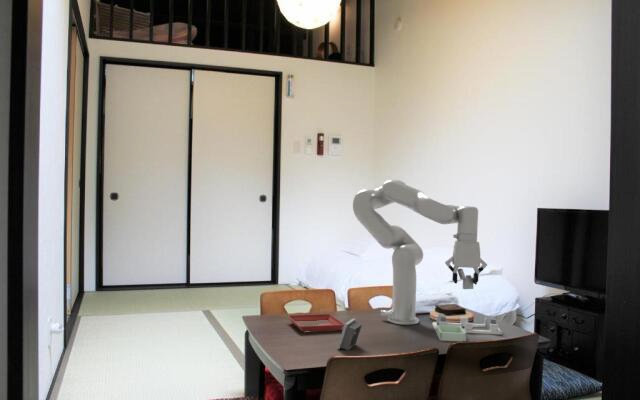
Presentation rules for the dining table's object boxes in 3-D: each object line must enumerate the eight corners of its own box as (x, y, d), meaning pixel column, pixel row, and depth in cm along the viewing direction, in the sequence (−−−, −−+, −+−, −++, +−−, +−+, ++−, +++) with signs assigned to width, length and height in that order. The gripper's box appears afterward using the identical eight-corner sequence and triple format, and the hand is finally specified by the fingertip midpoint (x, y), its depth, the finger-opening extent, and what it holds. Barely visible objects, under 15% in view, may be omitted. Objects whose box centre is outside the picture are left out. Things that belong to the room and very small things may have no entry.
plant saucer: (329, 321, 220) (329, 313, 220) (345, 332, 203) (345, 323, 203) (287, 323, 214) (287, 315, 214) (299, 335, 197) (299, 326, 197)
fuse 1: (440, 330, 209) (440, 317, 209) (438, 325, 215) (438, 313, 215) (445, 330, 209) (445, 317, 209) (443, 326, 215) (443, 313, 215)
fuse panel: (435, 331, 207) (436, 321, 207) (432, 324, 218) (432, 315, 218) (502, 334, 204) (502, 325, 204) (495, 327, 216) (495, 318, 216)
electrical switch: (346, 342, 187) (349, 316, 187) (360, 346, 186) (363, 320, 185) (336, 350, 179) (339, 322, 178) (351, 353, 177) (354, 326, 176)
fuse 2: (490, 332, 207) (490, 319, 207) (486, 328, 214) (486, 315, 214) (495, 332, 207) (495, 319, 207) (491, 328, 214) (491, 316, 213)
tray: (440, 340, 194) (440, 332, 194) (436, 332, 205) (436, 324, 205) (466, 341, 193) (466, 333, 193) (460, 333, 204) (460, 326, 204)
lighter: (470, 288, 212) (471, 267, 212) (473, 288, 210) (474, 268, 210) (456, 288, 209) (457, 268, 209) (459, 289, 207) (460, 269, 207)
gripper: (446, 237, 206) (444, 284, 206) (492, 239, 205) (490, 286, 205) (442, 236, 213) (441, 280, 214) (487, 238, 212) (485, 282, 213)
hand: (465, 283), depth 209 cm, fingers closed on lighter, 7 cm apart
